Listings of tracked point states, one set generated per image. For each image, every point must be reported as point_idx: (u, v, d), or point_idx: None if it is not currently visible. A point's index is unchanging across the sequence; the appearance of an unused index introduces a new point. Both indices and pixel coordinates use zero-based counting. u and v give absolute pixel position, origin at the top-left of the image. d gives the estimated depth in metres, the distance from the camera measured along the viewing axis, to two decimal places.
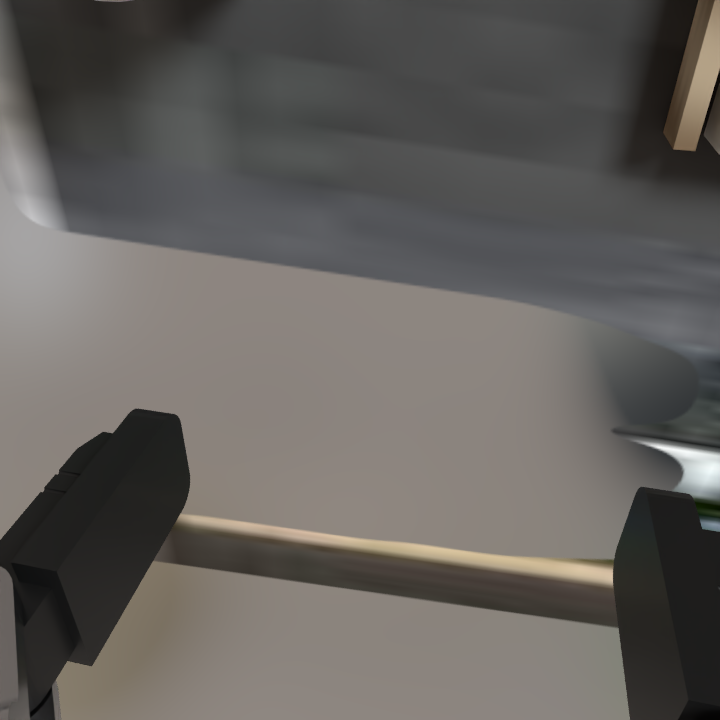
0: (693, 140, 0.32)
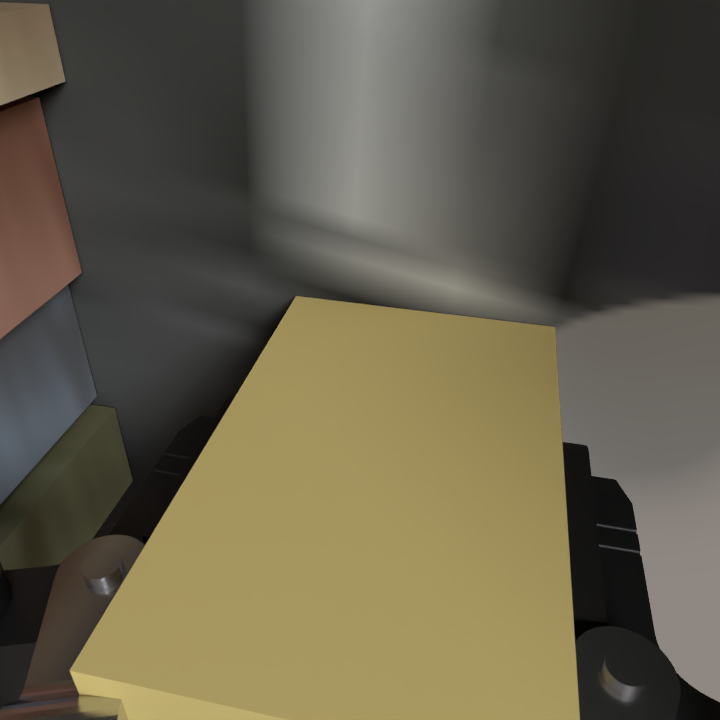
0: None
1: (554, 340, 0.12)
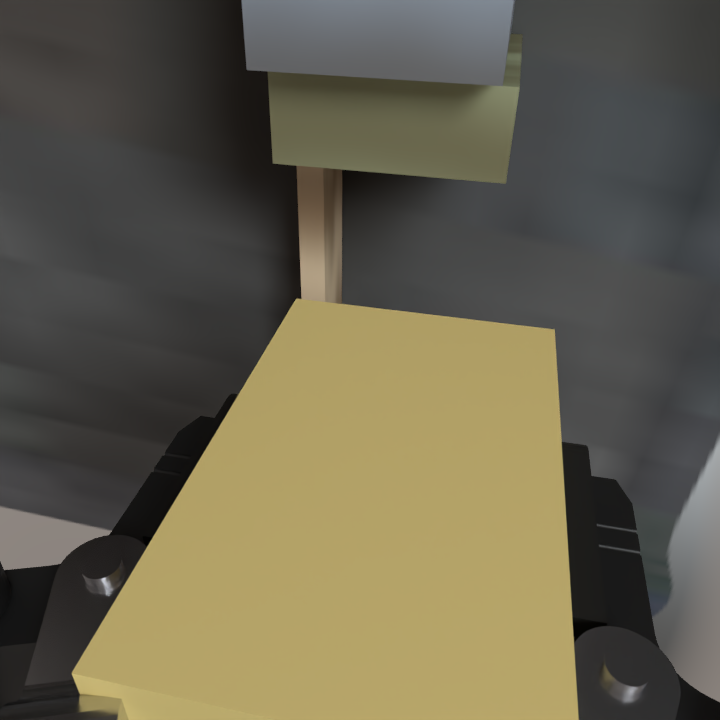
0: None
1: (554, 342, 0.12)
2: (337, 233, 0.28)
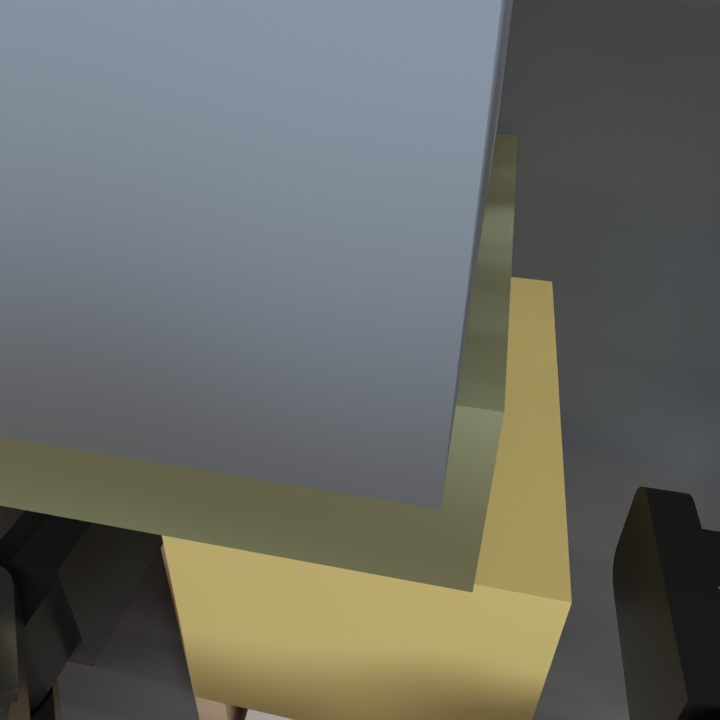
0: None
1: (551, 292, 0.14)
2: None
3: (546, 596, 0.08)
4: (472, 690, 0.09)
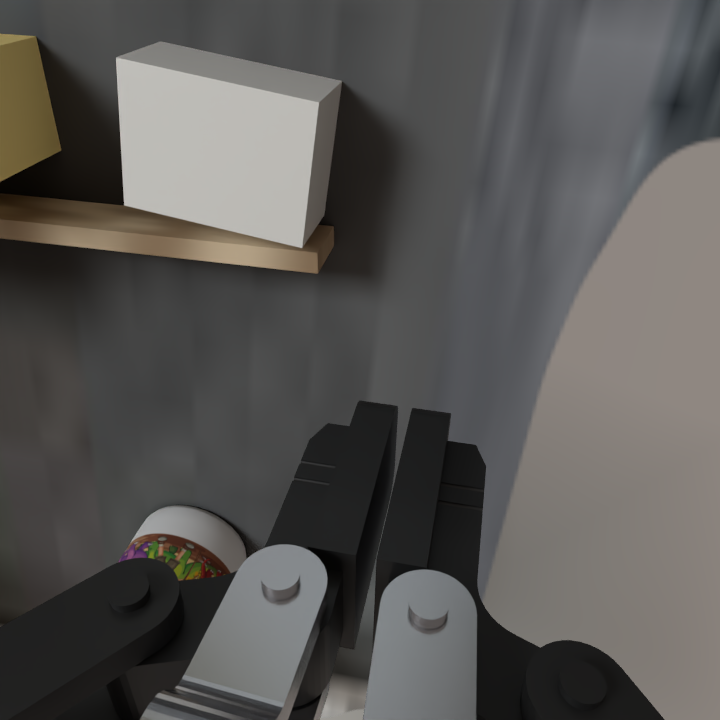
0: (306, 256, 0.29)
1: None
2: (77, 207, 0.33)
3: None
4: None
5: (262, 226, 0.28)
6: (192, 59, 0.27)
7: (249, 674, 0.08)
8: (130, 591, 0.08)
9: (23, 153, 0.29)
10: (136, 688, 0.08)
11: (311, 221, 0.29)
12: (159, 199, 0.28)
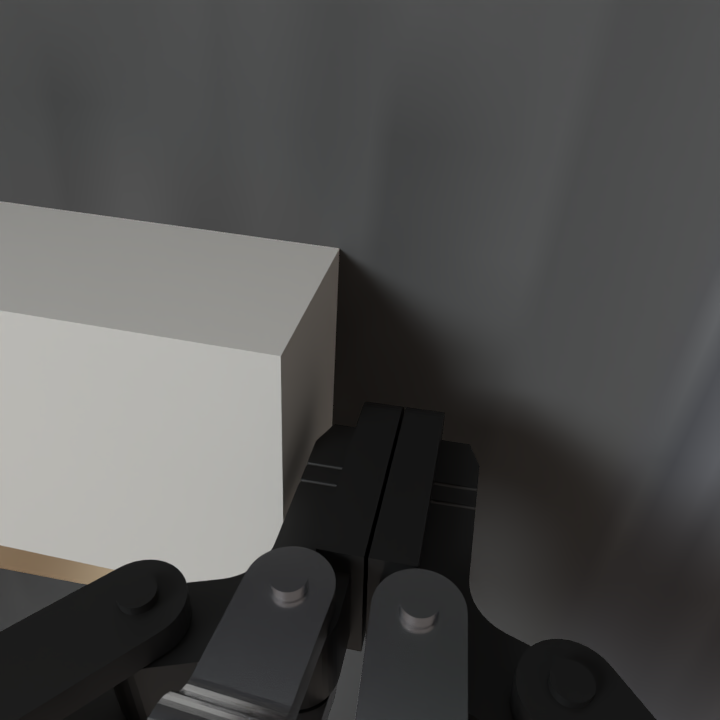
0: None
1: None
2: None
3: None
4: None
5: (196, 570, 0.13)
6: (8, 245, 0.12)
7: (256, 676, 0.07)
8: (138, 594, 0.08)
9: None
10: (143, 691, 0.08)
11: None
12: None
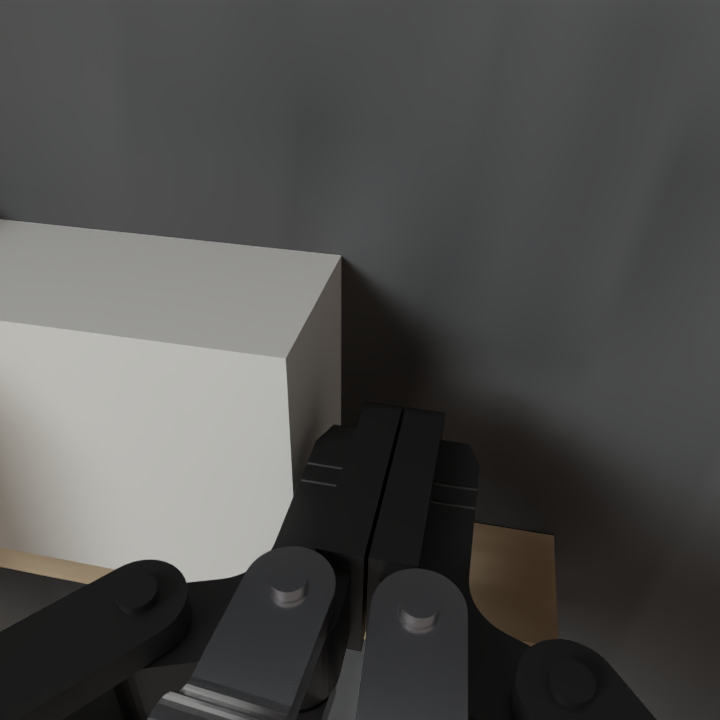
0: None
1: None
2: None
3: None
4: None
5: (211, 571, 0.13)
6: (22, 260, 0.13)
7: (256, 676, 0.07)
8: (138, 593, 0.08)
9: None
10: (143, 691, 0.08)
11: None
12: (7, 529, 0.14)
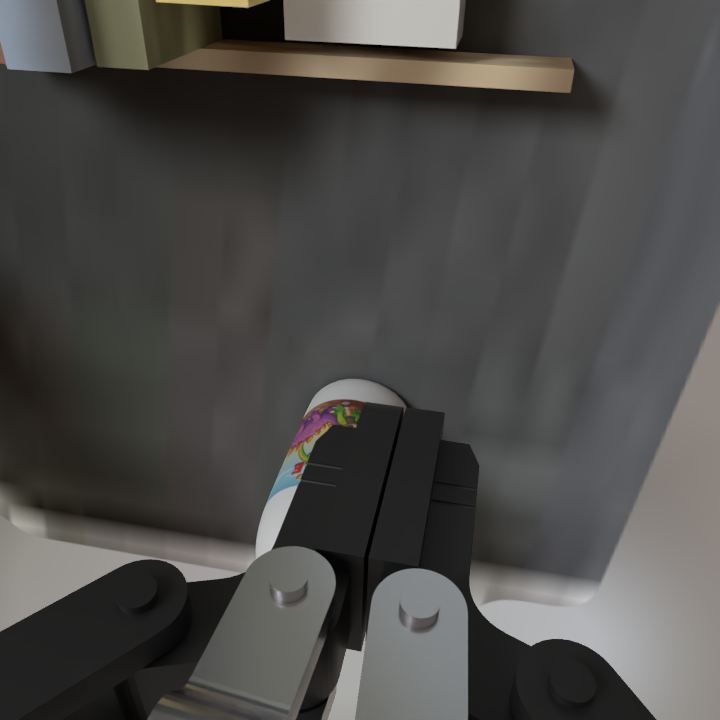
0: (562, 74, 0.30)
1: None
2: (314, 46, 0.34)
3: None
4: None
5: (416, 33, 0.30)
6: None
7: (256, 676, 0.07)
8: (138, 593, 0.08)
9: None
10: (143, 691, 0.08)
11: (459, 27, 0.30)
12: (318, 25, 0.31)
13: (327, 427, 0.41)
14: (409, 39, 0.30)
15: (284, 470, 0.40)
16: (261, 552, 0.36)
